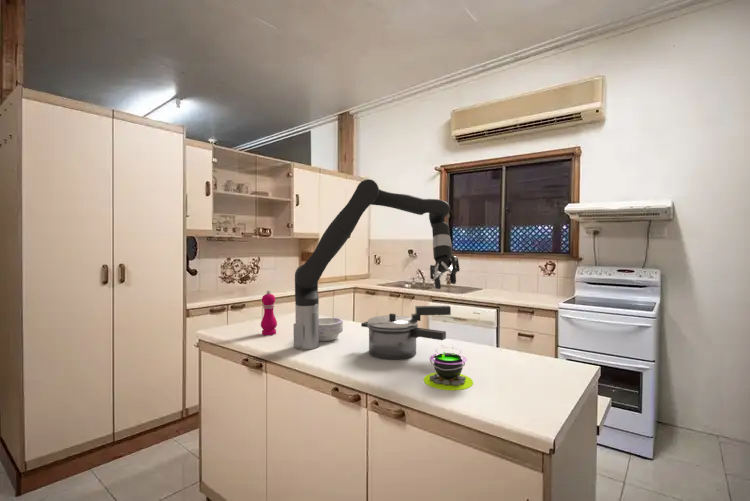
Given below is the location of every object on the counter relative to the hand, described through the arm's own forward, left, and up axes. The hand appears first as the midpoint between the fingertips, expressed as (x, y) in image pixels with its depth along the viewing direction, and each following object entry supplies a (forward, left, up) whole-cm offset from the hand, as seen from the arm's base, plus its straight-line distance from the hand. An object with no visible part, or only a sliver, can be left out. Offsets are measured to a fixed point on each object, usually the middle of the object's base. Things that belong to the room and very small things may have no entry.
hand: (445, 286), depth 153 cm
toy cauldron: (-28, -20, -25) cm, 43 cm away
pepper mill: (-36, +72, -25) cm, 84 cm away
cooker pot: (-17, +8, -25) cm, 31 cm away
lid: (-13, +7, -14) cm, 20 cm away
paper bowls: (-23, +47, -25) cm, 58 cm away
